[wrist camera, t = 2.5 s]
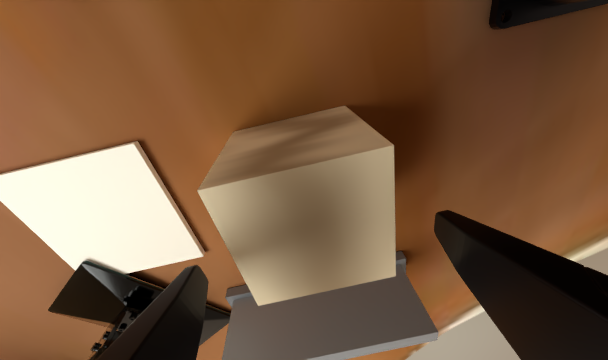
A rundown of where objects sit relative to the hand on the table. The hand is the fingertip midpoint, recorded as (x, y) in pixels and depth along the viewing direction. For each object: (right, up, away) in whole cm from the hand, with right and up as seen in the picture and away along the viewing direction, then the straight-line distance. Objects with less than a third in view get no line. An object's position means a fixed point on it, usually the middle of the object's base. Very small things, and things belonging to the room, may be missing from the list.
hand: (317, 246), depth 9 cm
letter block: (-1, +3, +6) cm, 7 cm away
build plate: (-14, -9, +11) cm, 20 cm away
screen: (+1, -6, +11) cm, 13 cm away
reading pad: (-13, 0, +7) cm, 15 cm away
